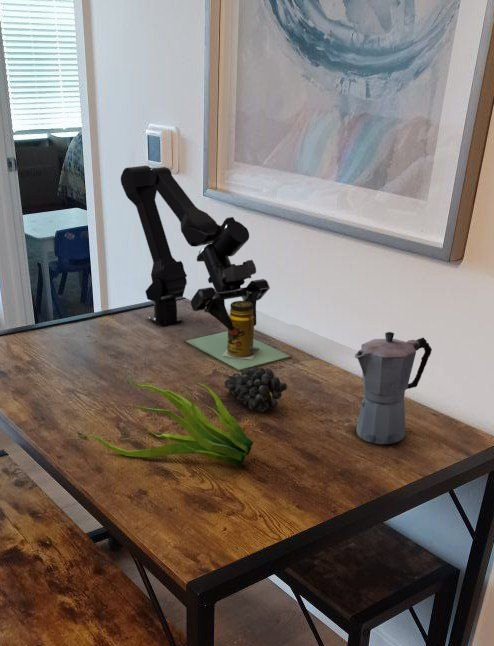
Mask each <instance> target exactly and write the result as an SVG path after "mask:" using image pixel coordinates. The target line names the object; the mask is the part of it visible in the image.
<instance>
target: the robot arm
mask: <svg viewBox="0 0 494 646" xmlns="http://www.w3.org/2000/svg"><path fill="white" fill-rule="evenodd" d="M120 184H121V186H122V190H123V191H124V194H125V195H126V198H127V199H128V200H129V201H130V202H131V203H132V204H133V205H134V206H135V207H136V211H137V213H138V214H137V215H138V217H139V221H140V224H141V227H142V230H143V233H144V236H145V240H146V243H147V247H148V251H149V253H150V256H151V259H152V268H151V273H150V276H151V283H150V285H149V286H148V287H147V289H145V295H146V299H147V300H149V301H151V302H153V316H152V317H148V318H149V321H151V322H153V323H155V324H157V325H158V326H160V327H164V326H168V325H173V324H178V323H182V322H183V321H182V320H183V319H181V318H179V317H178V306H177V305H178V304H177V303H178V301H177V299H178V298H183V297H184V294H185V290H186V286H187V284H188V282H187V281H188V279H187V277H188V274H187V273H186V271H185V267H184V263H183V262H182V260H179V261H177V260H176V259H175V258H174V257H173V255H172V252H171V248H170V246H169V243H168V242H169V241H168V238H167V236H166V232H165V229H164V225H163V223H162V219H161V216H160V212H159V209H158V205H157V202H156V197H157V193H158V194H159V196H161V198H162V199H163V201H164V202H165V203H166V204H167V206H168V207H169V208H170V210H171V211H172V213H174V215H175V217H176V218H177V219H178V221H179V223H180V232H181V233H182V235H183V237H184V239H185V241H186V242H187V244H188V245H189V246H190V247H200V246H205V247H203V249H199V251H198V254H197V256H196V262H203V263H204V266H205V268H206V271H207V273H208V279H207V282H208V284H212V286H213V287H212V286H209V287H203V288H198V289H197V290H196V292H195V294H194V295H193V296H192V298H191V300H190V306H191V308H192V311H193V312H199V311H204V313H208V314H209V315H211V316H212V317H214V318H215V319H216V320H217V321H219V323H221V324H222V325H223V326H224V327H225V328H226V329H227V330H228V329H229V330H230V331H231V330H232V329H233V326H232V322H231V320H230V317H229V313H228V311H227V308H226V302H225V300H231V299H236V298H237V299H238V298H241V299H242V301H248V302H250V303H252V304H253V315H254V317H255V319H254V327H255V326H256V325H257V301H260V300H261V299H262V298H263V297H264V296H265V295H266V293H267V292H268V291H269V290H270V289H271V286H270V284H269V282H268V280H266V279H264V278H261V279H254V280H251V281H249V283H248V284H247V285H246V287H241V286H243V285H244V284H245V283H246V281H245V280H247V279H252V275H255V274H257V267H256V263H254V260H253V259H249V260H245V261H243V262H242V263H241V264H237V265H236V264H235V263H232V262H231V260H230V257H233V256H235V255H236V254H237V253H238V252H239V251H240V250H241V248H243V246H244V245H245V244H246V243H247V242H248V241H249V239H250V232H249V230H248V228H247V227H246V226H245V225H244V224H242V223H241V222H239V221H237V220H236V219H235V217H234V216H230V217H226V218H225V219H224V220H223V222H222V223H221V225H220V224H218V223H217V222H216V220H215V219H214V218H213V217H212V216H211V215H209V213H207V212H205V211H204V210H202V209H199V208H198V207H197V206H196V205H195V204H194V202H192V200H191V198H190V197H189V196H188V195H187V193H186V192H185V191H184V189H183V188H182V187H181V186H180V185H179V183H178V181H177V180H176V179H175V178H174V176H173V174H172V171H171V169H170V168H168V167H166V166H161V167H150V166H149V165H139V166H129V167H125V168H124V169H123V171H122V173H121V175H120Z"/></svg>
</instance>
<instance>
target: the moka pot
mask: <svg viewBox="0 0 494 646" xmlns="http://www.w3.org/2000/svg"><path fill="white" fill-rule="evenodd" d="M384 333H385V334H384V335H385V336H384V337H385V338H374V339H371V340H369V341H366V342H364V343H362V344H361V346H360V348H361V349H359V350H358V351H357V352H356V353H355V354H354V358H355V359H357V360H358V363H359V366H360V368H361V372H362V384H363V397H362V401H361V406H360V410H359V415H358V421H357V424H356V429H355V430H356V434H357V436H358V437H359V438H360V439H361V440H363V441H365V442H368V443H371V444H374V445H392V444H395V443H399V442H400V441H402V440H403V439H404V438H405V436H406V432H407V431H406V429H407V428H406V413H405V412H406V407H405V394H406V390H409V389H414V388H416V387H418V385H419V382H420V380H421V378H422V376H423V375H422V374H423V373H424V370H425V367H426V366H427V363H428V360H429V358H430V357H431V354H432V351H433V349H432V347H431V346H430V343H429V342H427V341H428V340H427V339H425V337H420V338H418V339H416V340H415V339H409V340H406V341H404V340H400V339H397V338H394V336H395V333H394V332H393V331H387V332H384ZM420 349H423V350H424V353H423V355H422V356H421V359H420V364H419V367H418V369H417V372H416V375H415V377H414V379H413V380H412V382H410V380H411V379H410V378H411V374H412V372H413V371H412V370H413V367H414V362H415V358H416V355H417V351H419V350H420Z"/></svg>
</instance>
